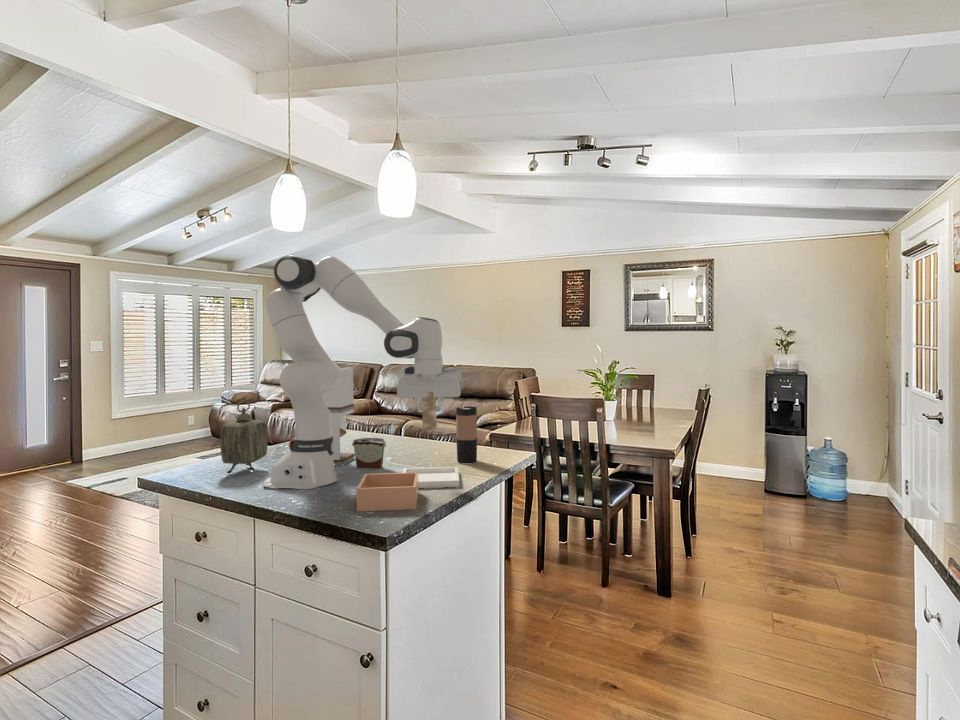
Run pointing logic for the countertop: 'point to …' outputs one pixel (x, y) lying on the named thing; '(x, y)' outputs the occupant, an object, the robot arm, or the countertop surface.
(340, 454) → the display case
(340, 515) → the countertop surface
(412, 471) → the tray
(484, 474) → the countertop surface
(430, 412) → the dowel pin
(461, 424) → the travel mug
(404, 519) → the countertop surface
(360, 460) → the food container
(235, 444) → the tabletop clock
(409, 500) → the peach storage bin
